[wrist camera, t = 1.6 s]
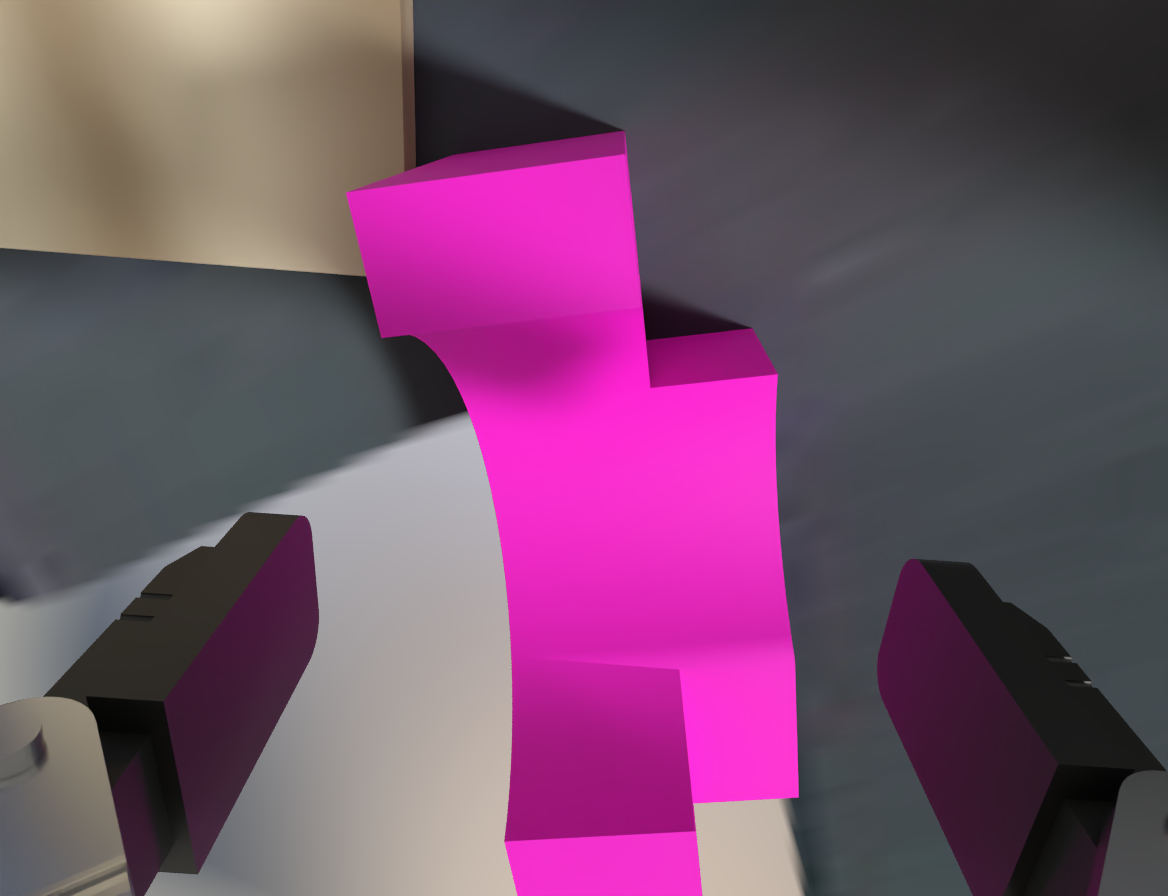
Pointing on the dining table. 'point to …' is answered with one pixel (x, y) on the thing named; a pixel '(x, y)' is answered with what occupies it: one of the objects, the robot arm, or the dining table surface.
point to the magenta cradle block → (602, 509)
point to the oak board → (201, 126)
